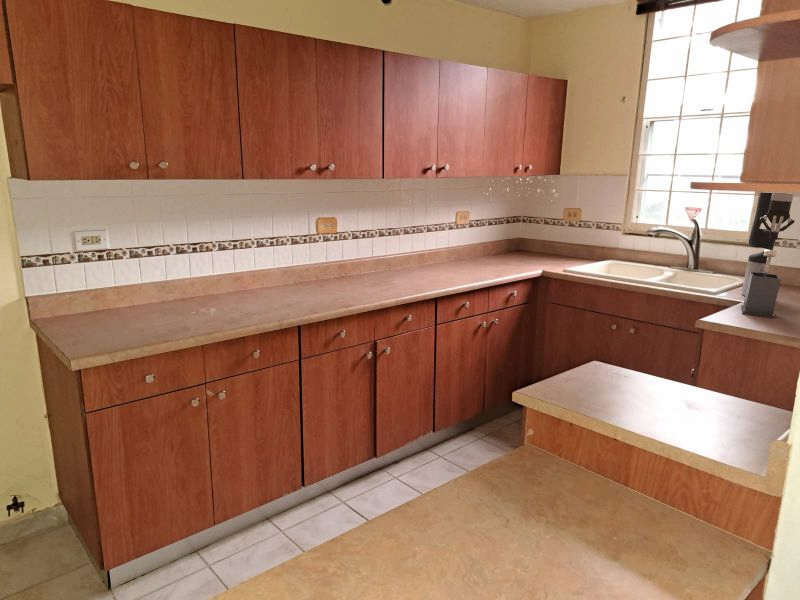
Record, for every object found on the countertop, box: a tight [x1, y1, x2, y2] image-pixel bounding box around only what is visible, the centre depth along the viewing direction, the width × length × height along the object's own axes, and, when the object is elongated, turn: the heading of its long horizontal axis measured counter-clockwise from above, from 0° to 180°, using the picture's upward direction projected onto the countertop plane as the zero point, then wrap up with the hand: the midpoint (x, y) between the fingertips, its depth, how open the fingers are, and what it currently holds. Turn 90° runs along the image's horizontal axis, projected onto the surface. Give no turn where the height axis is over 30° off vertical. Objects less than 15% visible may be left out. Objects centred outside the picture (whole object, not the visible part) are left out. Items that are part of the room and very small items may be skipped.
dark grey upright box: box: [740, 272, 782, 319], centre depth 254 cm, size 12×12×17 cm
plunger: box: [763, 249, 777, 277], centre depth 251 cm, size 8×8×17 cm
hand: (772, 240), depth 247 cm, fingers closed
